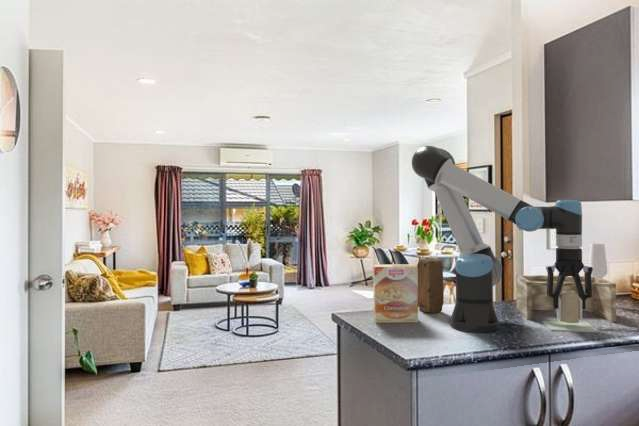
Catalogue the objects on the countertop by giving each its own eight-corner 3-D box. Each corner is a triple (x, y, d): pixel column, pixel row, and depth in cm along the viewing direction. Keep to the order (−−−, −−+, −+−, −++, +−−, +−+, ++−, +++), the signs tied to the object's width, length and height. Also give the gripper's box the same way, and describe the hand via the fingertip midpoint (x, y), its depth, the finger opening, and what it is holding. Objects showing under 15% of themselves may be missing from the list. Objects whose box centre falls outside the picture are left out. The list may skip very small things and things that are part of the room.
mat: (550, 330, 150) (550, 329, 150) (541, 322, 161) (541, 320, 161) (599, 332, 147) (599, 330, 147) (587, 323, 158) (587, 322, 158)
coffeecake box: (375, 323, 163) (374, 266, 163) (373, 318, 170) (372, 264, 170) (418, 322, 163) (418, 266, 162) (415, 317, 170) (414, 263, 169)
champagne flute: (585, 304, 189) (585, 244, 188) (591, 301, 193) (590, 243, 193) (604, 306, 184) (604, 244, 184) (609, 303, 189) (609, 243, 188)
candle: (556, 319, 157) (556, 289, 157) (573, 319, 157) (573, 289, 156) (564, 323, 151) (564, 292, 151) (582, 323, 151) (582, 292, 151)
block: (445, 313, 176) (444, 259, 176) (427, 314, 174) (426, 260, 174) (431, 307, 187) (430, 256, 186) (413, 308, 185) (413, 257, 184)
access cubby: (527, 319, 165) (526, 282, 165) (516, 308, 183) (516, 274, 182) (615, 322, 159) (615, 283, 159) (596, 310, 177) (596, 276, 177)
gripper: (541, 248, 152) (541, 320, 152) (604, 248, 148) (605, 322, 148) (535, 246, 159) (535, 315, 159) (595, 246, 155) (596, 317, 156)
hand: (569, 318), depth 154 cm, fingers closed on candle, 5 cm apart
